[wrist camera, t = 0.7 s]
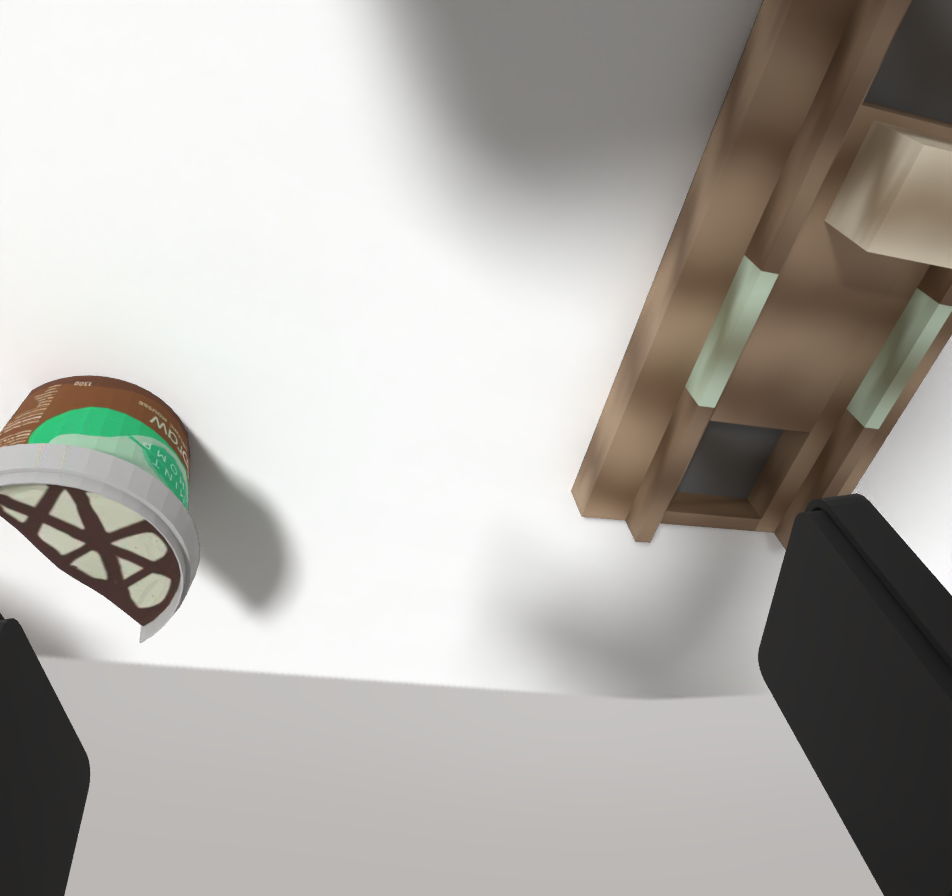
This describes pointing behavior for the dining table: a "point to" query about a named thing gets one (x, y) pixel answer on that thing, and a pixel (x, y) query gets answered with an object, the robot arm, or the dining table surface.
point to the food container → (104, 491)
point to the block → (898, 196)
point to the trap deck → (780, 287)
